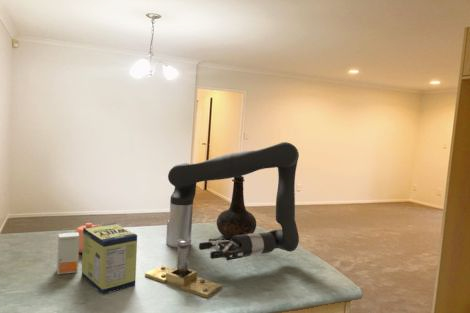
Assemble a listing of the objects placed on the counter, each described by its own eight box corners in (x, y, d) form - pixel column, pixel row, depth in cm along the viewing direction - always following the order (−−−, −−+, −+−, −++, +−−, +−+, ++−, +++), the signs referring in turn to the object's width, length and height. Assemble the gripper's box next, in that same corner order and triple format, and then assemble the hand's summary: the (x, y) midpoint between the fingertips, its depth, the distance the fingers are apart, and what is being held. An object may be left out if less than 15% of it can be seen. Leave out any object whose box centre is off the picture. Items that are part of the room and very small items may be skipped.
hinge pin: (171, 282, 109) (173, 241, 108) (180, 277, 113) (182, 237, 112) (182, 286, 107) (185, 244, 106) (191, 281, 111) (193, 240, 110)
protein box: (112, 268, 116) (114, 222, 115) (136, 285, 105) (138, 234, 104) (80, 276, 109) (82, 227, 108) (102, 295, 98) (104, 241, 97)
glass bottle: (258, 234, 165) (262, 175, 163) (251, 246, 148) (256, 180, 146) (221, 229, 169) (225, 172, 167) (210, 240, 152) (214, 176, 150)
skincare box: (56, 275, 108) (58, 237, 108) (56, 269, 112) (57, 233, 111) (78, 272, 111) (79, 235, 110) (77, 267, 115) (78, 231, 114)
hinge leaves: (145, 276, 112) (145, 267, 112) (161, 268, 119) (162, 259, 118) (207, 298, 100) (207, 287, 100) (221, 287, 107) (222, 278, 107)
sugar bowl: (62, 252, 128) (62, 224, 127) (91, 241, 141) (92, 216, 140) (88, 258, 123) (89, 230, 122) (115, 247, 136) (116, 221, 135)
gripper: (237, 228, 127) (196, 233, 119) (259, 240, 115) (215, 246, 107) (236, 249, 128) (195, 254, 119) (258, 263, 115) (214, 270, 107)
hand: (204, 250), depth 113 cm, fingers open, 8 cm apart
